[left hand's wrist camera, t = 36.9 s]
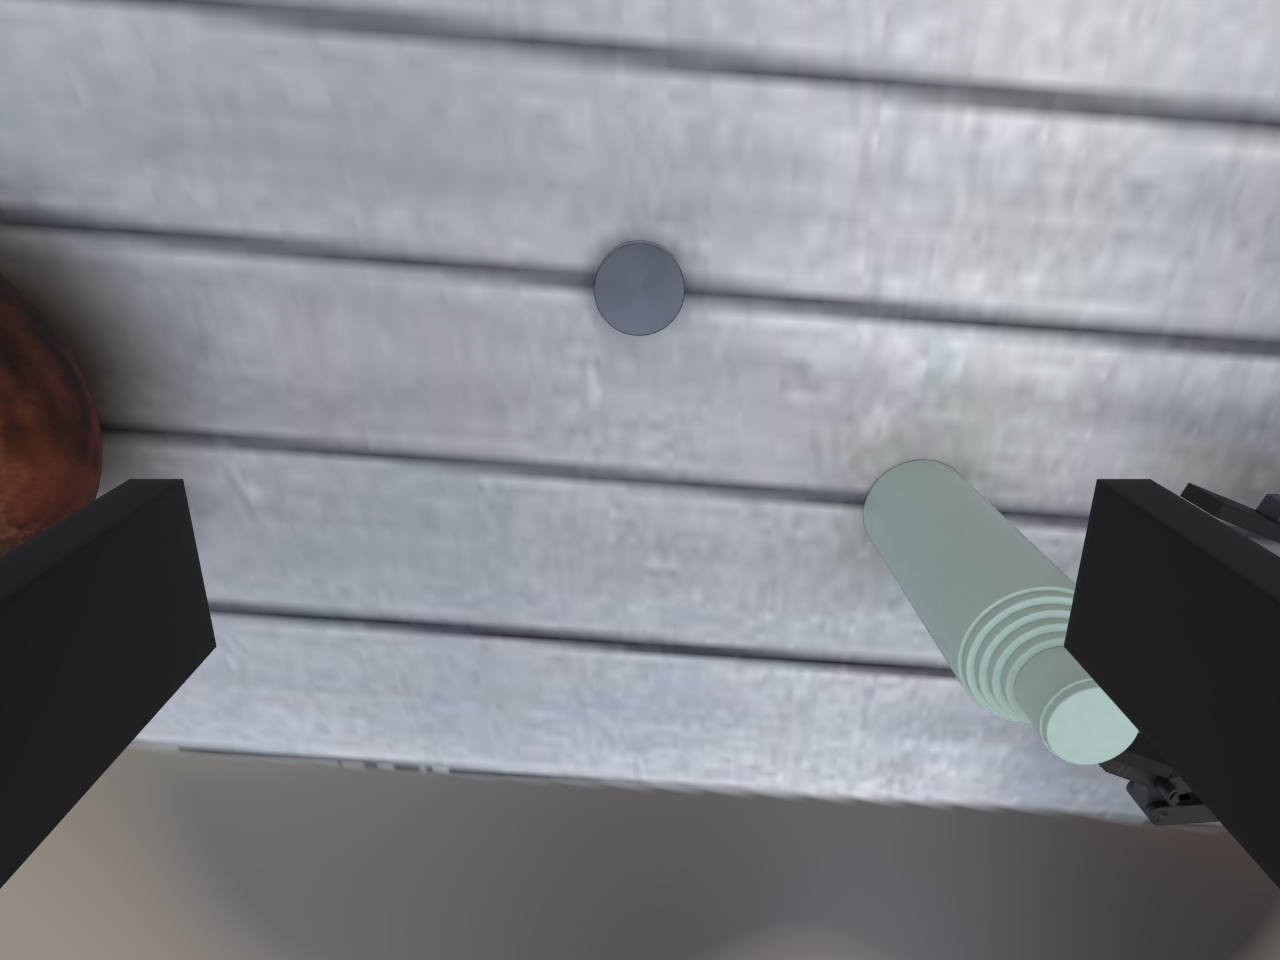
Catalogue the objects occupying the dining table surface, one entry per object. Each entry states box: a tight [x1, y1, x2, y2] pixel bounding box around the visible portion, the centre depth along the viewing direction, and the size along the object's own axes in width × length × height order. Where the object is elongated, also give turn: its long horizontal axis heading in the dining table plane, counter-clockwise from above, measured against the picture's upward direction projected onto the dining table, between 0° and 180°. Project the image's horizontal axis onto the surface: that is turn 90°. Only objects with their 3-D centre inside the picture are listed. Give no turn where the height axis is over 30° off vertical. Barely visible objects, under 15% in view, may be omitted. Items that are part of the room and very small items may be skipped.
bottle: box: [863, 460, 1139, 765], centre depth 38 cm, size 6×6×20 cm
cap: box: [594, 240, 685, 336], centre depth 42 cm, size 4×4×2 cm
